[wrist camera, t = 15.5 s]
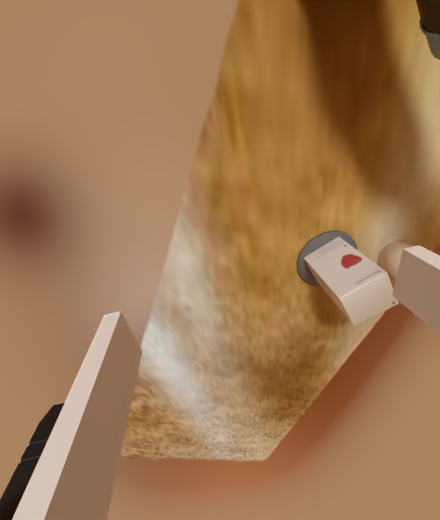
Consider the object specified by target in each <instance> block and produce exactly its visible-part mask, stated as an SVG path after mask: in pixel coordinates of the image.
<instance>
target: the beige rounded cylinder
mask: <svg viewBox="0 0 440 520" xmlns="http://www.w3.org/2000/svg"><path fill="white" fill-rule="evenodd" d="M413 246H414V245H412V244H410V243H408V242H406V241H402V240H401V241H395V242H393V243H391V244H389V245H387V246H386V247H385V248H384V249H383V250H382V251H381V253H380V255H379V257H378V265H379V267H381V268H382V269H384V270H385V271H386V272H387V273H388V274H390V275H391V276H392V277H394V278H395V279H396V277H397V272H398V268H399V264H400V259H401V255H402V251H403V249H404V248H409V247H413Z"/></svg>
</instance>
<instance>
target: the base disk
mask: <svg viewBox="0 0 440 520" xmlns="http://www.w3.org/2000/svg"><path fill="white" fill-rule="evenodd" d="M337 237H340V238H342V239H343V240H344V241H346V242H347V243H348V244H350V245H351V246H352V247H354V248H355V249H356V250H357V246H356V243H355V241H354V240H353V239H352V238H351V237H350V236H349V235H347V234H346V233H343V232H340V231H329V232H325V233H322V234H320V235H318V236H316V237H314V238H313V239H311V240H310V241H309V242H308V243H307V244H306V245H305V246H304V247H303V249H302V250H301V252H300V254H299V256H298V260H297V270H298V273H299V275H300V276H301V278H302V279H303V280H304V281H305V282H307V283H309V284H312V285H320V284H319V283H318V282H317V280H316V279H315V277H314V275H313V274H312V272H311V270H310V268H309V267H308V265H307V263H306V262H305V260H304V257H306V256H307V255H309V254H311V253H312V252H314V251H316V250H317V249H319V248H321V247H322V246H324V245H326V244H327V243H329V242H331V241H332V240H334V239H336V238H337Z"/></svg>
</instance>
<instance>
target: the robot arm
mask: <svg viewBox="0 0 440 520" xmlns="http://www.w3.org/2000/svg"><path fill="white" fill-rule="evenodd" d="M416 2H417V6H418V10H419V14H420V18H421V19H420V28H421V31H422V32H423V33H424V34H425V35H426V38H427V41H428V44H429V47H430V51H431V53H432V55H433V56H434V57H435V58H437V59H439V60H440V0H416ZM392 296H393V297H394V298H396V299H397V300H398V301H399V302H400V303H402V304H403V305H404V306H405V307H407V308H408V309H409V310H410V311H412V312H413V313H414V314H415V315H416V316H417V317H419V318H420V319H421V320H422V321H423V322H425V323H426V324H427V325H428V326H430V327H431V328H432V329H433V330H434V331H436V332H437V333H438V334H439V335H440V256H439V255H437V254H435V253H433V252H431V251H429V250H428V249H426V248H424V247H422V246H420V245H418V246H413V247H409V248H404V249H403V251H402V255H401V259H400V264H399V268H398V272H397V277H396V281H395V285H394V290H393V294H392ZM141 354H142V350H141V348H140V346H139V345H138V343H137V341H136V339H135V337H134V335H133V333H132V331H131V329H130V327H129V326H128V324H127V322H126V320H125V318H124V316H123V315H122V312H121V311H120V312H115V313H111V314H107V315H104V317H103V319H102V321H101V324H100V326H99V328H98V330H97V332H96V335H95V337H94V339H93V341H92V343H91V346H90V348H89V350H88V352H87V355H86V357H85V359H84V361H83V363H82V366H81V368H80V370H79V372H78V374H77V377H76V379H75V381H74V383H73V386H72V388H71V390H70V392H69V394H68V397H67V399H66V401H65V403H62V404H58V405H54V406H53V407H52V408H51V409H50V410H49V411H48V413H47V414H46V415H45V416H44V418H43V419H42V420H41V421H40V423H39V424H38V426H37V429H36V430H35V432H34V434H33V436H32V438H31V440H30V442H29V443H30V445H29V446H28V447H27V448H26V450H25V452H24V454H23V456H22V458H21V463H20V464H18V466H17V468H16V470H15V472H14V474H13V476H12V478H11V480H10V482H9V484H8V486H7V488H6V490H5V492H4V494H3V496H2V497H1V500H0V520H107V517H108V511H109V507H110V503H111V498H112V493H113V488H114V483H115V479H116V474H117V469H118V464H119V460H120V455H121V450H122V445H123V440H124V436H125V431H126V426H127V421H128V416H129V412H130V407H131V402H132V397H133V392H134V388H135V383H136V378H137V373H138V369H139V364H140V359H141Z"/></svg>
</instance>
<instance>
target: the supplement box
mask: <svg viewBox="0 0 440 520" xmlns="http://www.w3.org/2000/svg"><path fill="white" fill-rule="evenodd" d="M304 260H305V262H306V263H307V265H308V267H309V268H310V270H311V272H312V274H313V275H314V277H315V279H316V280H317V282H318V283H319V284H320V286H321V287H322V288H323V289H324V290H325V292H326V293H327V294H328V295H329V297H330V298H331V299H332V300H333V302H334V303H335V304H336V305H337V306H338V308H339V309H340V310H341V311H342V313H343V314H344V315H345V316H346V318H347V319H348V320H349V321H350V323H351V324H352V325H353V326H356V325H358V324H360V323H362V322H364V321H366V320H368V319H370V318H373V317H375V316H377V315H379V314H380V313H382V312H383V311H385V310H387V309H389V308H391V307H393V306H395V305H397V304H399V303H398V300H397V299H396V298H394V297H393V296H392V294H393V287H392V284H391V281H390V278H389V276H388V273H387V272H386V271H385V270H384V269H382V268H381V267H379V266H378V265H377V264H375V263H374V262H373V261H371V260H370V259H368V258H367V257H366V256H364V255H363V254H362V253H360V252H359V251H358V250H356V249H355V248H354V247H352V246H351V245H350V244H348V243H347V242H346V241H344V240H343V239H342V238H340V237H337V238H336V239H334V240H332V241H331V242H329V243H327V244H326V245H324V246H322V247H321V248H319V249H317V250H316V251H314V252H312V253H311V254H309V255H307V256H306V257H304Z"/></svg>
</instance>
